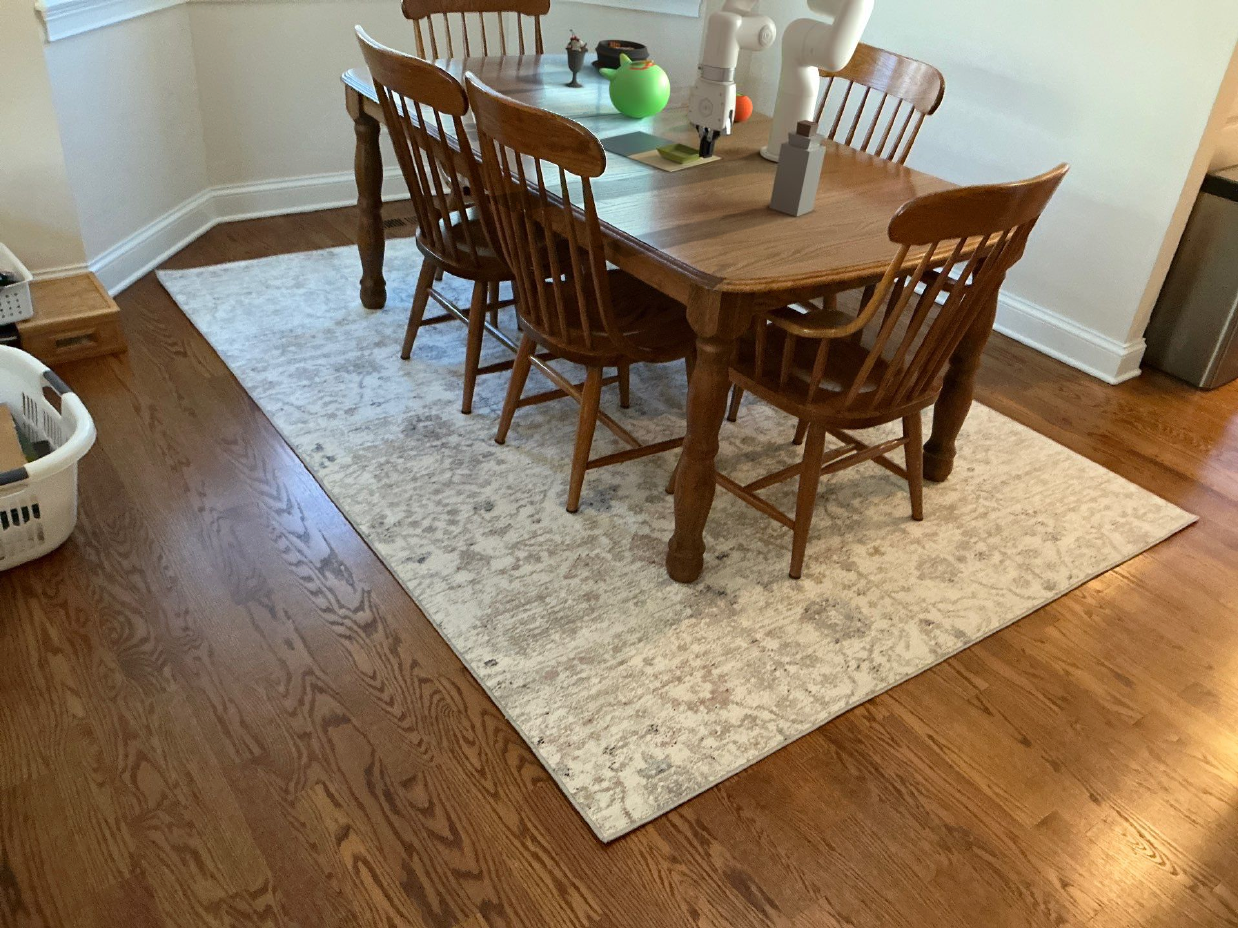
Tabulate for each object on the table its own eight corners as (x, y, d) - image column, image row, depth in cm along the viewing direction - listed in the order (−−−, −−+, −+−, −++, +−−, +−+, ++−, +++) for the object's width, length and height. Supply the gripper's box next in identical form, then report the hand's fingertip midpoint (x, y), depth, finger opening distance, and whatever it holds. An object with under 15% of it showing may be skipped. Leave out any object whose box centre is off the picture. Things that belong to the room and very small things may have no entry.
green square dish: (705, 161, 233) (706, 152, 232) (682, 166, 227) (683, 157, 226) (677, 151, 237) (678, 142, 236) (654, 156, 232) (655, 147, 231)
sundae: (558, 83, 287) (562, 27, 279) (579, 82, 290) (583, 28, 281) (567, 88, 282) (571, 32, 274) (588, 88, 285) (593, 33, 277)
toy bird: (654, 129, 254) (661, 69, 246) (593, 117, 257) (598, 58, 249) (674, 115, 268) (681, 58, 260) (616, 104, 272) (621, 48, 264)
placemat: (721, 158, 237) (721, 158, 236) (669, 172, 223) (669, 171, 223) (639, 132, 250) (639, 131, 250) (586, 143, 237) (586, 142, 236)
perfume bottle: (785, 201, 213) (802, 116, 203) (812, 210, 210) (830, 124, 200) (769, 207, 209) (785, 121, 199) (796, 216, 205) (814, 129, 196)
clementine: (718, 121, 267) (722, 94, 264) (724, 115, 273) (728, 89, 269) (747, 126, 266) (751, 99, 262) (752, 120, 271) (756, 94, 267)
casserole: (586, 62, 315) (589, 34, 310) (644, 66, 318) (646, 39, 313) (594, 80, 294) (597, 50, 290) (655, 85, 297) (658, 55, 293)
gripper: (681, 68, 218) (670, 151, 228) (735, 83, 211) (721, 168, 221) (701, 65, 224) (689, 146, 233) (755, 79, 216) (740, 163, 226)
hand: (705, 156), depth 227 cm, fingers closed
